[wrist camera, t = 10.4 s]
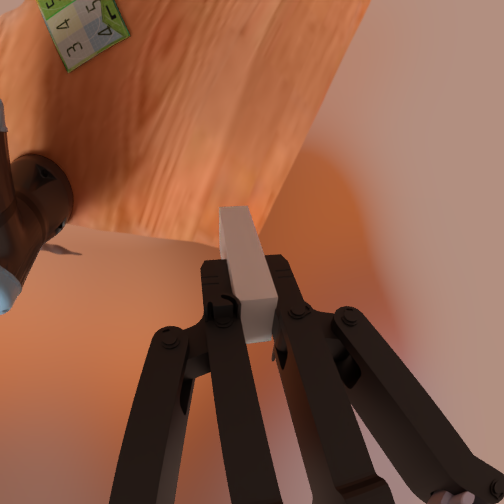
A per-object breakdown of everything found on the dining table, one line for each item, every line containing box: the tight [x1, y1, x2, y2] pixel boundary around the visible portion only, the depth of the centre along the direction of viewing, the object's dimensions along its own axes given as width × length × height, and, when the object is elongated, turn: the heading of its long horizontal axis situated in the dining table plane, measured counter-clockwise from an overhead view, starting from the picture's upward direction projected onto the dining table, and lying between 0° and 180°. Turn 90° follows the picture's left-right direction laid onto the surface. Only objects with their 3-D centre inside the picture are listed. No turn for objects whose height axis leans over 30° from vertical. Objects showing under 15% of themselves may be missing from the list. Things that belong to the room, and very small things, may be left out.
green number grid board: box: [36, 0, 130, 73], centre depth 23 cm, size 20×1×10 cm
